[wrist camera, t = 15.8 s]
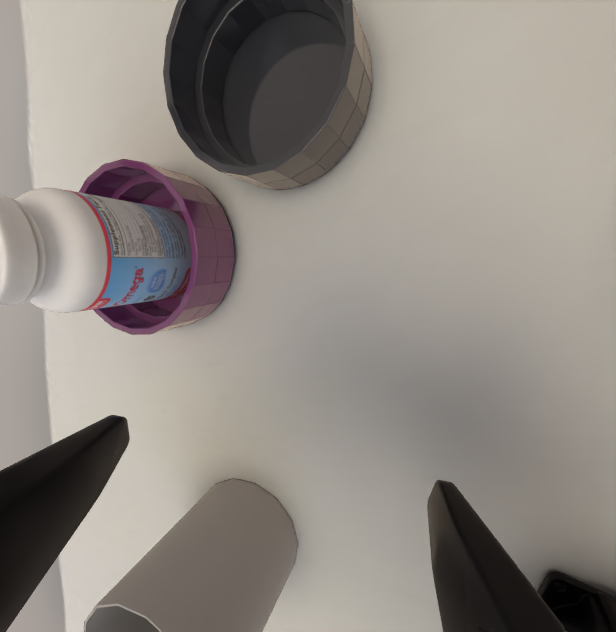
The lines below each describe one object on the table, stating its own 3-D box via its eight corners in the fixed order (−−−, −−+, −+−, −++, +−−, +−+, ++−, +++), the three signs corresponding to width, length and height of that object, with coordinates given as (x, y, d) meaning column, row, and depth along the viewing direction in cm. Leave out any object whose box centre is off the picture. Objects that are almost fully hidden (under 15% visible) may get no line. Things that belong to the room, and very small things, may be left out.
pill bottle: (160, 308, 25) (-37, 344, 15) (129, 232, 25) (-90, 215, 15) (221, 277, 23) (38, 295, 12) (187, 193, 22) (-27, 139, 12)
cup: (186, 504, 28) (62, 625, 19) (248, 460, 25) (135, 582, 16) (247, 591, 27) (147, 764, 18) (319, 558, 24) (244, 748, 15)
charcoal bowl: (347, 203, 19) (324, 189, 15) (204, 176, 22) (155, 160, 18) (395, -6, 17) (381, -85, 13) (226, -2, 20) (174, -65, 16)
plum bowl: (224, 340, 24) (185, 356, 20) (117, 301, 27) (66, 309, 23) (248, 188, 21) (207, 173, 17) (126, 165, 24) (70, 149, 21)
